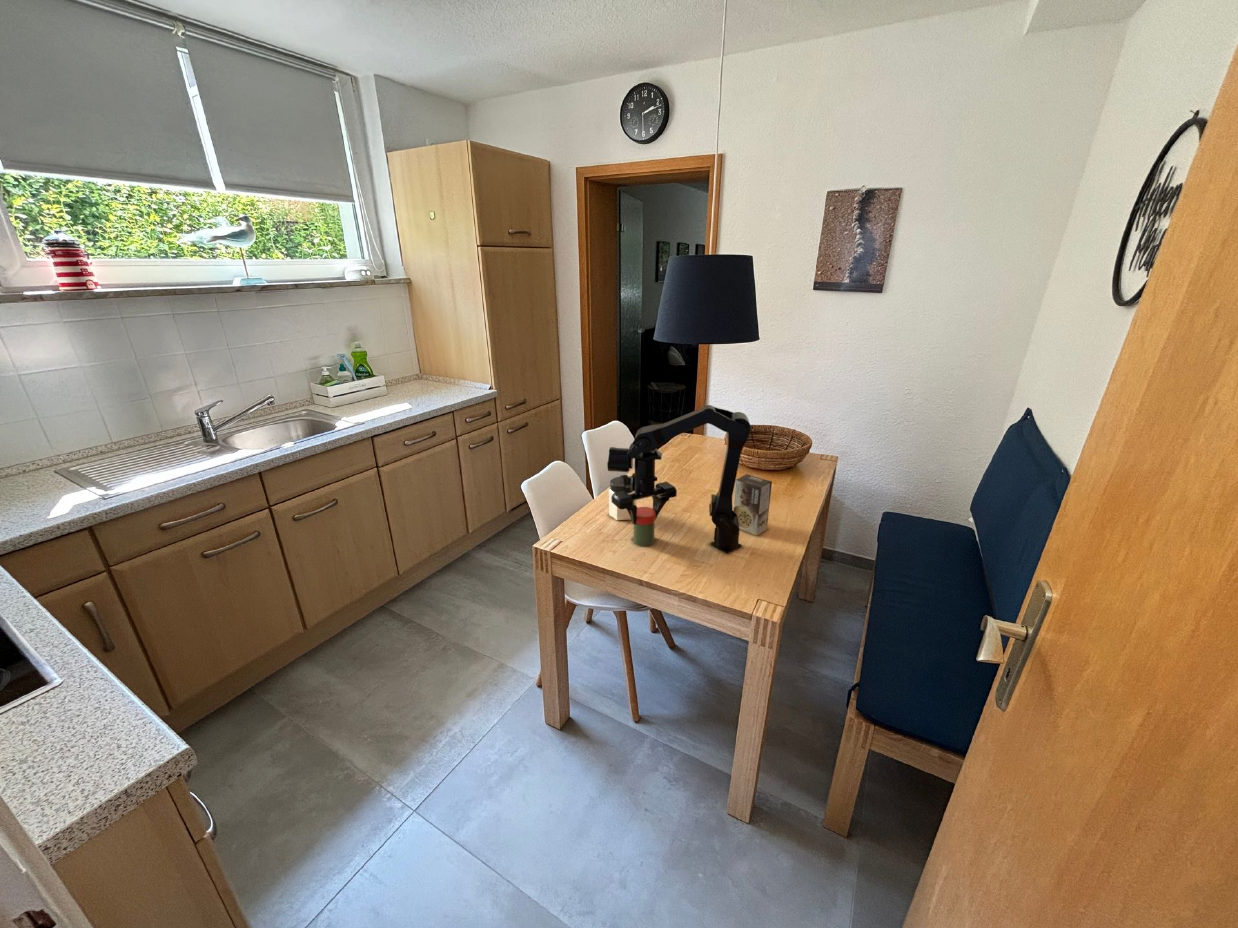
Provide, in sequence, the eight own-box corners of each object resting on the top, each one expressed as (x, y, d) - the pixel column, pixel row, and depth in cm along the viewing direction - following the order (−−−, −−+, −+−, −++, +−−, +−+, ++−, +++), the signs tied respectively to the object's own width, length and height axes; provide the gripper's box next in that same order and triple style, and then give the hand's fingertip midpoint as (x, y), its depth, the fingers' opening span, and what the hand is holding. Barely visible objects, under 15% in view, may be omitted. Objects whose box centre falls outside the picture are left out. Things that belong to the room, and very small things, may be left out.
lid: (660, 520, 145) (660, 512, 144) (642, 527, 141) (642, 519, 140) (645, 511, 150) (645, 504, 149) (628, 518, 146) (628, 510, 145)
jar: (634, 508, 168) (634, 475, 163) (637, 519, 160) (638, 485, 156) (608, 509, 167) (607, 476, 163) (610, 521, 160) (609, 487, 155)
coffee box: (767, 528, 154) (773, 481, 148) (756, 536, 150) (761, 487, 144) (742, 519, 160) (746, 473, 154) (731, 526, 156) (735, 478, 150)
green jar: (658, 541, 148) (659, 514, 144) (642, 548, 144) (642, 520, 141) (645, 533, 152) (645, 506, 149) (629, 539, 149) (629, 512, 146)
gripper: (658, 457, 151) (657, 503, 156) (602, 468, 143) (603, 516, 149) (678, 469, 141) (676, 518, 147) (620, 482, 134) (620, 533, 139)
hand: (644, 521), depth 146 cm, fingers closed on lid, 6 cm apart
